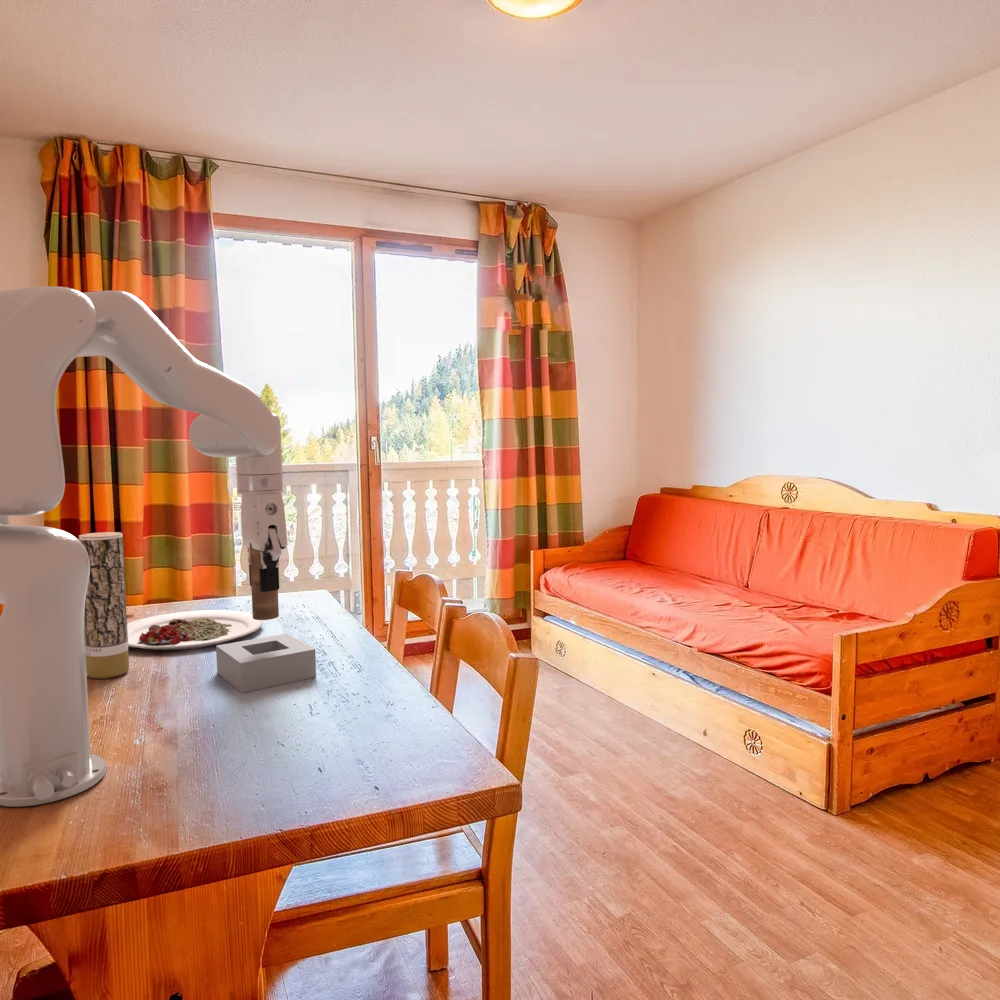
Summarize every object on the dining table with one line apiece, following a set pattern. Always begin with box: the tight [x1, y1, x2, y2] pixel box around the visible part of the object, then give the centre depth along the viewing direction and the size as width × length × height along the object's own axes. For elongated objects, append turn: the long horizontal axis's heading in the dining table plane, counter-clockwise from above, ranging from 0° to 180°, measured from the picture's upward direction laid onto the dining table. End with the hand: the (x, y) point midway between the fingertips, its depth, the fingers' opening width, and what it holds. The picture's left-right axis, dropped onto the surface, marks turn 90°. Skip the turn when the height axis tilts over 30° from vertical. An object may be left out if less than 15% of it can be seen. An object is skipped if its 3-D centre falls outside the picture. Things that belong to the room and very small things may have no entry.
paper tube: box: [78, 531, 130, 680], centre depth 133 cm, size 7×7×25 cm
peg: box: [250, 543, 280, 621], centre depth 132 cm, size 4×4×14 cm
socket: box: [215, 633, 317, 694], centre depth 133 cm, size 13×13×5 cm
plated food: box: [127, 609, 264, 651], centre depth 160 cm, size 30×30×3 cm
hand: (264, 587), depth 132 cm, fingers closed on peg, 4 cm apart
